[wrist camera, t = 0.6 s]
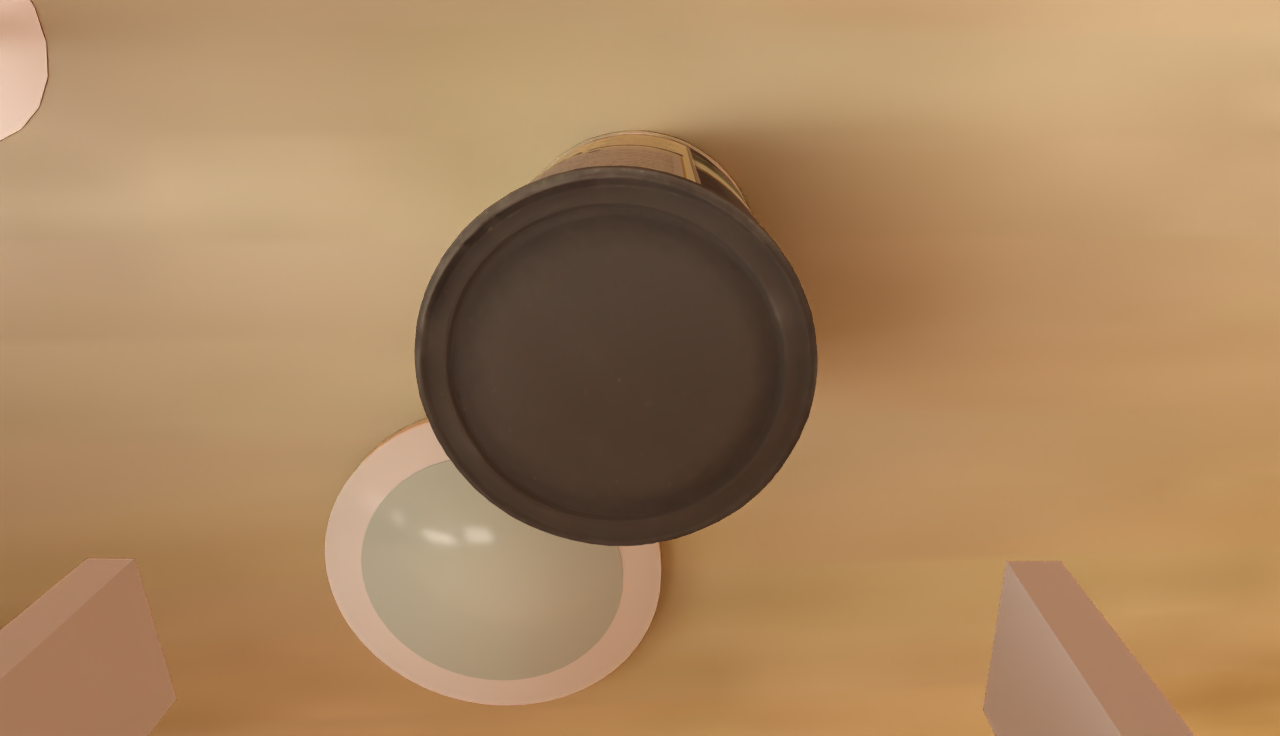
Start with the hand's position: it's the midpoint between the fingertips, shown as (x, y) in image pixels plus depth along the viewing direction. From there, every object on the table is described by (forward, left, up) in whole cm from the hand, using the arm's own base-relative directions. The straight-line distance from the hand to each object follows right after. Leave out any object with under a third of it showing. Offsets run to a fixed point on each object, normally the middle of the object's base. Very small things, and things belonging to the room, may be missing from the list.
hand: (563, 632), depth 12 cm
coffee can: (0, +1, -23) cm, 23 cm away
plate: (-7, -14, -23) cm, 28 cm away
